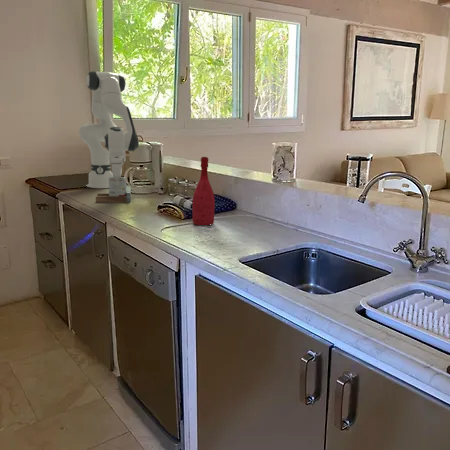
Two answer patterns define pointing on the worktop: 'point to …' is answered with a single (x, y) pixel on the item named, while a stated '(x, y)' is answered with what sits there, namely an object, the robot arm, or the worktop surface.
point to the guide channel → (113, 197)
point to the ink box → (117, 187)
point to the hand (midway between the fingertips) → (117, 183)
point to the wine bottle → (203, 198)
